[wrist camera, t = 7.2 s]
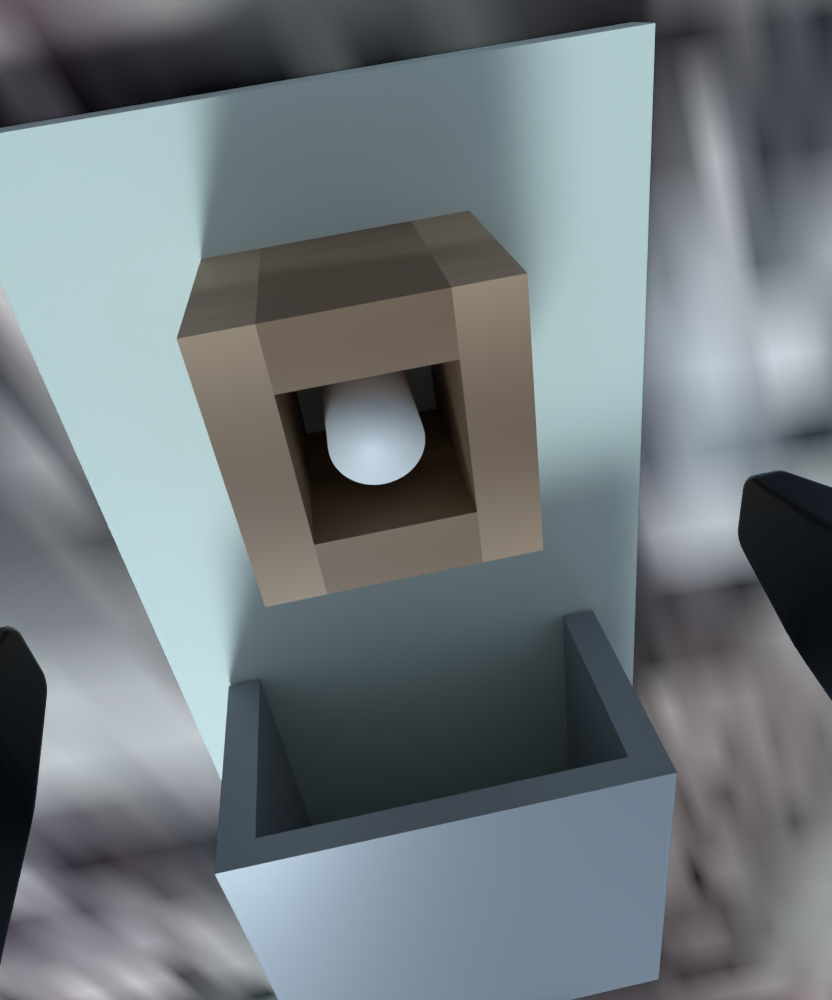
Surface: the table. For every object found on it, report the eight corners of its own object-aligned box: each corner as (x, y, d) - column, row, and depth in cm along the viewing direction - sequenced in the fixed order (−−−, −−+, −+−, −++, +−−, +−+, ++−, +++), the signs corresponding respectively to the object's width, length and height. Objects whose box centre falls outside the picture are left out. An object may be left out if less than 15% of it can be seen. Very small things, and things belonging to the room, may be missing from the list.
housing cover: (592, 610, 20) (676, 772, 16) (594, 814, 25) (658, 979, 21) (228, 686, 20) (214, 874, 15) (304, 878, 25) (309, 1061, 20)
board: (632, 21, 14) (763, 28, 10) (617, 778, 26) (674, 908, 22) (-41, 134, 13) (-166, 185, 9) (267, 854, 25) (265, 1001, 22)
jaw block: (491, 443, 17) (543, 550, 14) (267, 487, 17) (264, 607, 13) (468, 210, 14) (527, 272, 11) (201, 259, 14) (176, 339, 11)
